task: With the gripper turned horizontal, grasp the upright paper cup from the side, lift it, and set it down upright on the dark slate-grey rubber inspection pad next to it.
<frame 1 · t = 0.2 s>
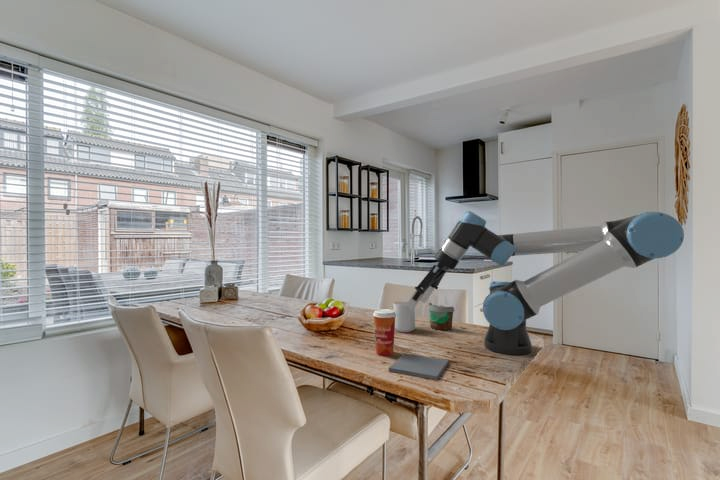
hand: (415, 304, 123), 15 cm above the table, tool tilted 35°, fingers open, 13 cm apart
food container: (437, 329, 148), on the table
inspection pad: (419, 367, 105), on the table
mug: (405, 329, 148), on the table
paper cup: (384, 353, 117), on the table
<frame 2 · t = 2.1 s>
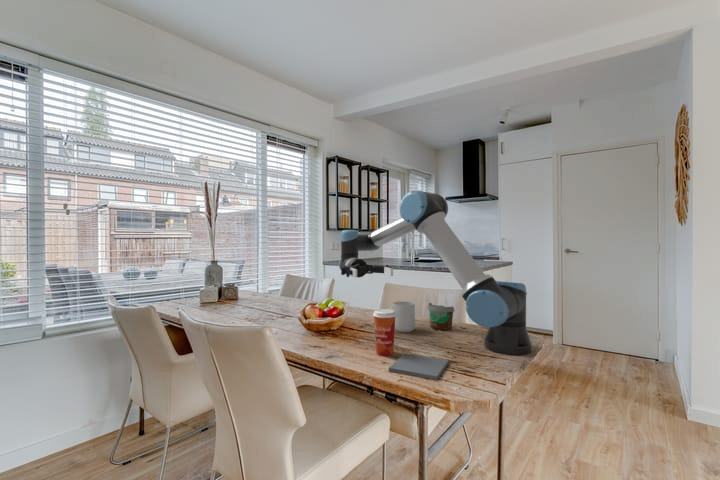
hand: (374, 272, 126), 26 cm above the table, tool horizontal, fingers open, 13 cm apart
nothing on the table moved.
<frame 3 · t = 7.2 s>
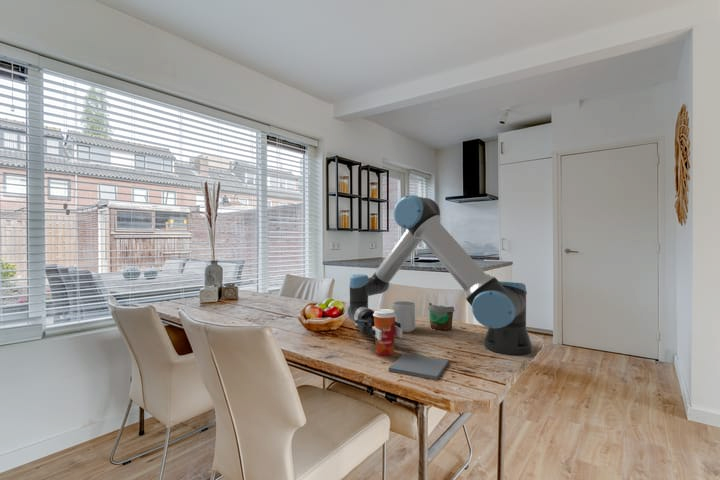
hand: (390, 334, 113), 8 cm above the table, tool horizontal, fingers closed on paper cup, 6 cm apart
paper cup: (384, 353, 117), on the table, touching gripper
everything else where it was.
when the fingers open (10 cm above the table, at t = 12.3 s): paper cup drops 1 cm, resting on inspection pad.
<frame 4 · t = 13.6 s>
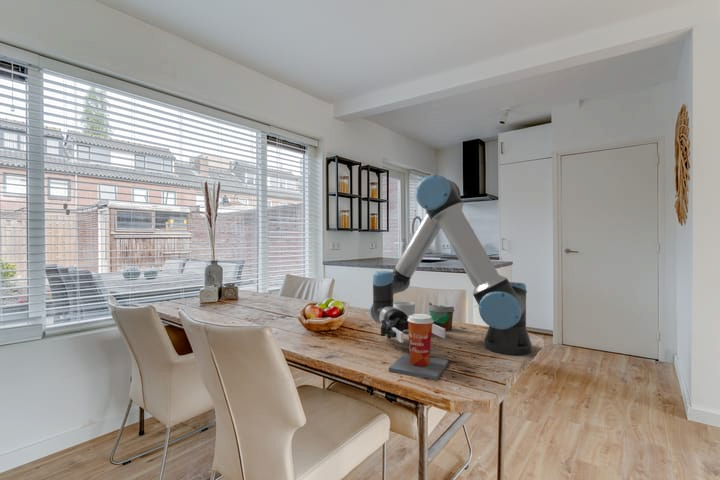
hand: (423, 335, 102), 10 cm above the table, tool horizontal, fingers open, 13 cm apart
paper cup: (419, 363, 105), point 1 cm above the table, touching inspection pad
everything else where it was.
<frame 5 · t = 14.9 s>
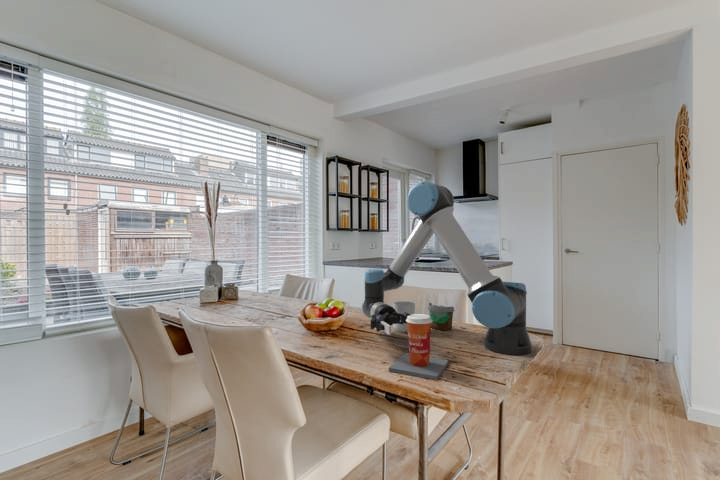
hand: (409, 328, 110), 10 cm above the table, tool horizontal, fingers open, 13 cm apart
nothing on the table moved.
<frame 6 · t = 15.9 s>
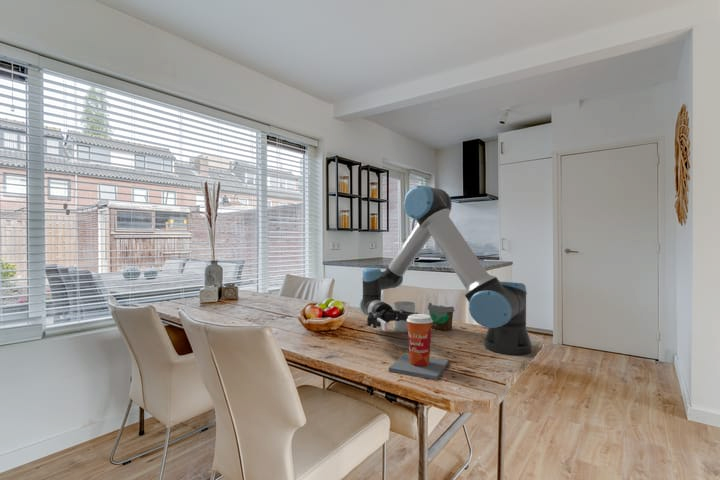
hand: (405, 325, 114), 10 cm above the table, tool horizontal, fingers open, 13 cm apart
nothing on the table moved.
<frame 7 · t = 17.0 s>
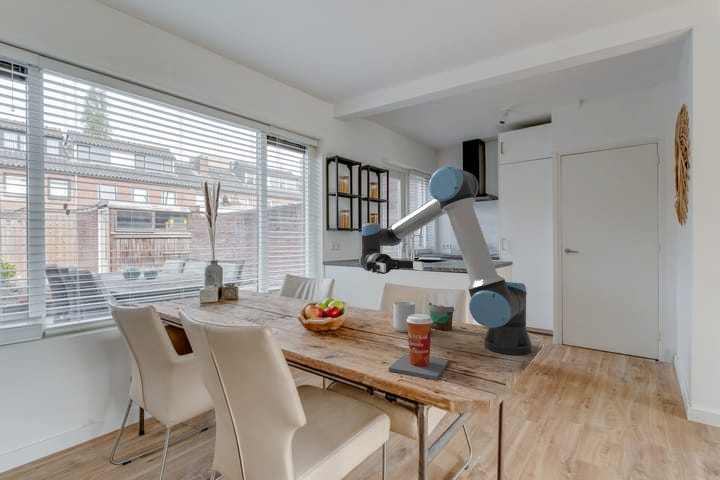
hand: (404, 267, 114), 29 cm above the table, tool horizontal, fingers open, 13 cm apart
nothing on the table moved.
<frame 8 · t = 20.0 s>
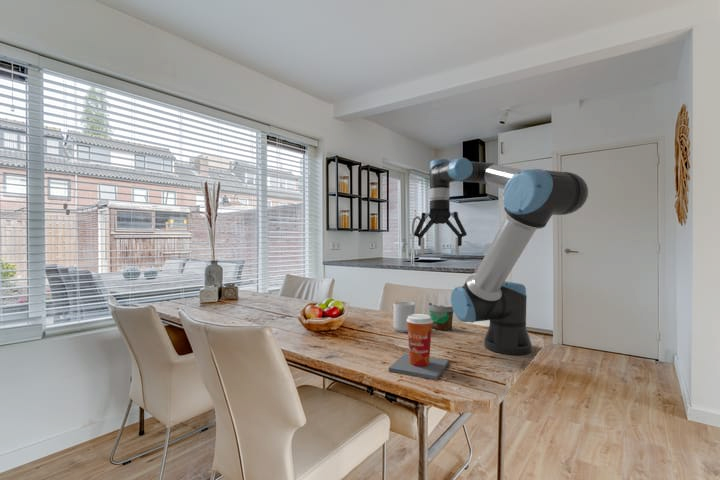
hand: (439, 254, 138), 32 cm above the table, tool pointing down, fingers open, 13 cm apart
nothing on the table moved.
at the end: paper cup 0.3 cm from the inspection pad (horizontally); paper cup touching inspection pad; paper cup tilted 1° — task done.
